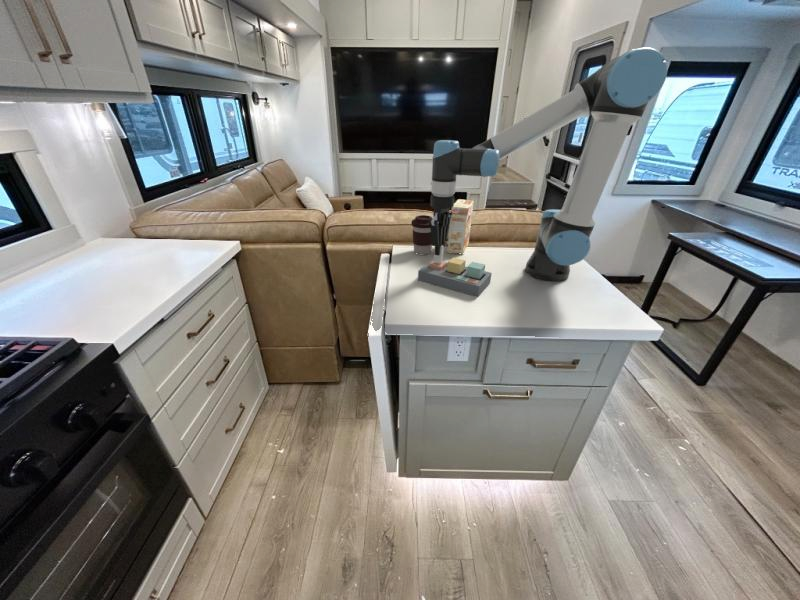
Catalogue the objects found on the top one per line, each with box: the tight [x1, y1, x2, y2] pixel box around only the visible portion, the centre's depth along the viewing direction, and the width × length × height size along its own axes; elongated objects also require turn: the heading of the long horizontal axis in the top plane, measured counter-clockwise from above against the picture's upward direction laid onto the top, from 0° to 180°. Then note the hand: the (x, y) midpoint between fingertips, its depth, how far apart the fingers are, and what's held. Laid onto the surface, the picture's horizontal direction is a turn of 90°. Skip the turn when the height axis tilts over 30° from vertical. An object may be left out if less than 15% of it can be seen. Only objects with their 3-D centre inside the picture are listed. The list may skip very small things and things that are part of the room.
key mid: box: [447, 257, 467, 274], centre depth 111 cm, size 5×5×4 cm
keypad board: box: [417, 259, 493, 298], centre depth 112 cm, size 22×12×4 cm, turn 58°
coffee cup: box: [410, 214, 433, 255], centre depth 134 cm, size 10×10×15 cm
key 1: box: [429, 260, 447, 271], centre depth 116 cm, size 5×5×4 cm
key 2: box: [466, 261, 486, 279], centre depth 108 cm, size 5×5×4 cm
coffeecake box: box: [447, 198, 475, 255], centre depth 138 cm, size 15×7×20 cm, turn 160°
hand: (438, 262), depth 115 cm, fingers closed
